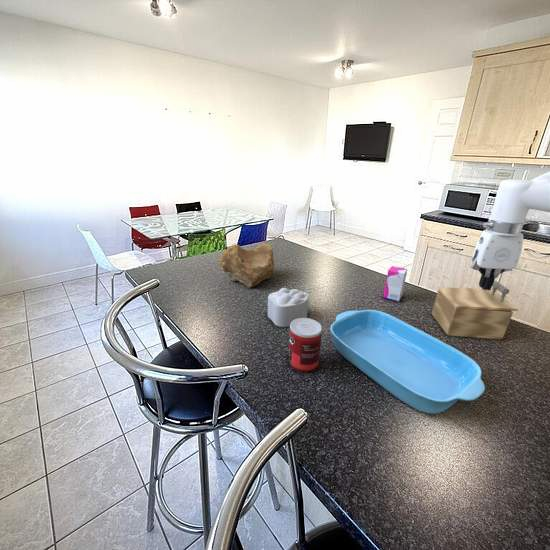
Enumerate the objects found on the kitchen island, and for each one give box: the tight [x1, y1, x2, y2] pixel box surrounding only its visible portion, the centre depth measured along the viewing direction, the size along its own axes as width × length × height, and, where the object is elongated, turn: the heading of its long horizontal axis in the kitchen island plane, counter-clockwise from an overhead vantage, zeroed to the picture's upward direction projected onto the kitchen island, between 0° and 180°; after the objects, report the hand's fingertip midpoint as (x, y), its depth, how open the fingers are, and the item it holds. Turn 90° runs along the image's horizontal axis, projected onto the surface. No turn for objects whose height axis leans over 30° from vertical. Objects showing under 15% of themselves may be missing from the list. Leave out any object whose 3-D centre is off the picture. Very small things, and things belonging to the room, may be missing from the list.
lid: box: [438, 280, 519, 312], centre depth 88 cm, size 16×13×5 cm
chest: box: [431, 289, 514, 340], centre depth 91 cm, size 16×13×9 cm
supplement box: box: [382, 265, 408, 303], centre depth 108 cm, size 6×6×12 cm
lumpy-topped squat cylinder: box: [267, 287, 310, 328], centre depth 94 cm, size 10×13×9 cm
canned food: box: [287, 317, 323, 373], centre depth 73 cm, size 8×8×11 cm
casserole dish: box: [330, 309, 486, 414], centre depth 73 cm, size 37×22×7 cm, turn 35°
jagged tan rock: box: [219, 242, 275, 289], centre depth 117 cm, size 23×17×15 cm
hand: (484, 288), depth 86 cm, fingers closed
